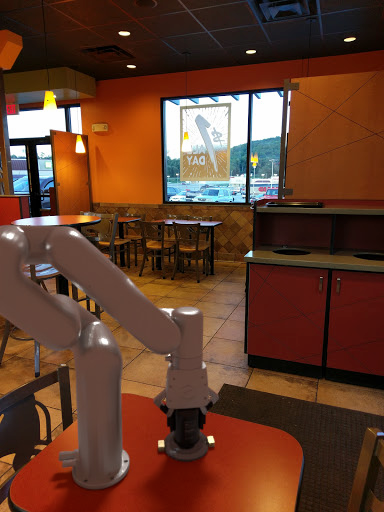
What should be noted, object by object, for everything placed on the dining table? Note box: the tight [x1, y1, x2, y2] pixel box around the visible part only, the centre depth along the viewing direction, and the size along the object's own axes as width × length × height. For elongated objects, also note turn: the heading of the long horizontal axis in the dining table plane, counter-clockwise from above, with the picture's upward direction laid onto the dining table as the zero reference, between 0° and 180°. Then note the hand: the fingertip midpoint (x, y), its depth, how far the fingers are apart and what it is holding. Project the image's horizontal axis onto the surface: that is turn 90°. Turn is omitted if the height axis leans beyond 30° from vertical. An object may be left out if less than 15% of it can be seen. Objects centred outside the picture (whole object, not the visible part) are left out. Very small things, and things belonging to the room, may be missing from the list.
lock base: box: [157, 431, 216, 463], centre depth 89 cm, size 14×11×1 cm
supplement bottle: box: [172, 408, 201, 447], centre depth 88 cm, size 7×7×12 cm
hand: (186, 426), depth 88 cm, fingers closed on supplement bottle, 6 cm apart
